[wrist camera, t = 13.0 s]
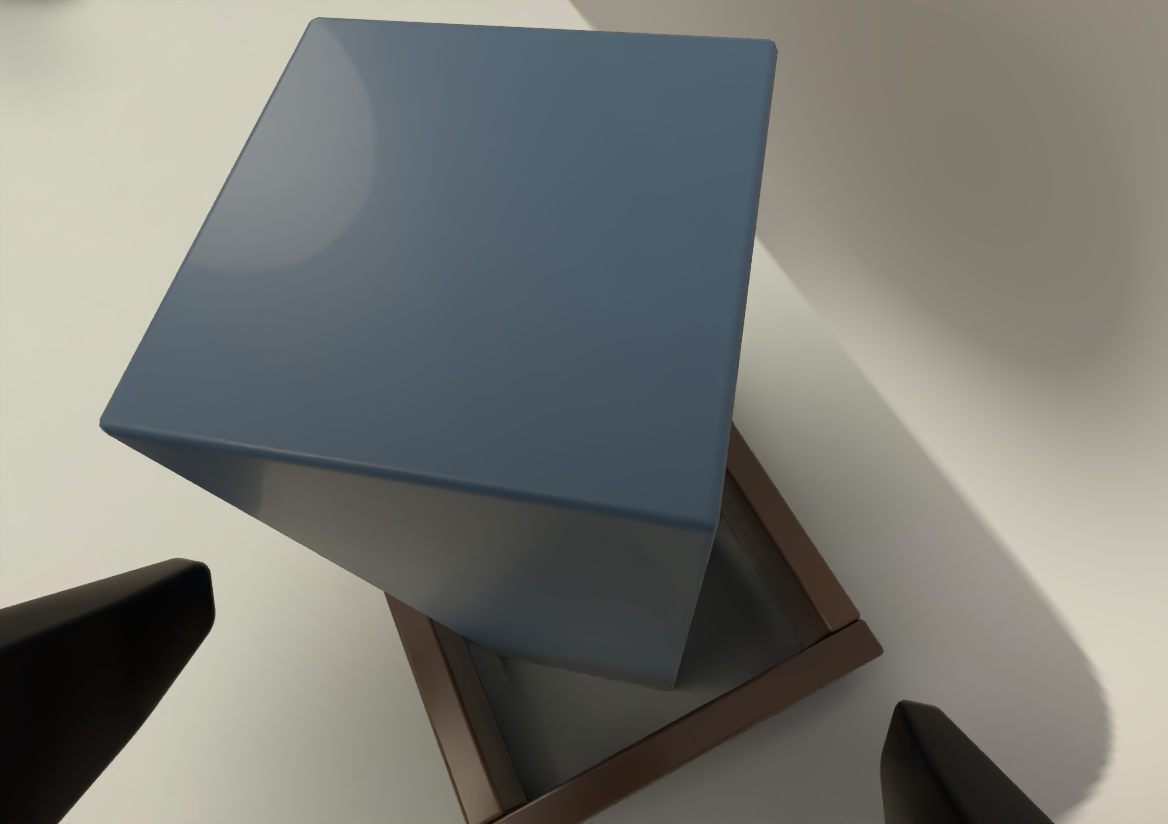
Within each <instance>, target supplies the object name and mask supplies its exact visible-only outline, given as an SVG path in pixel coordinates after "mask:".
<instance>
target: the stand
mask: <svg viewBox="0 0 1168 824" xmlns="http://www.w3.org/2000/svg"><path fill="white" fill-rule="evenodd" d="M720 511H721V512H722V514H723V516H724V517H725V519H726V521H727V522H728V524H729V526H730V527H731V529H732V530H733V532H734V534H735V535H736V537H737V539H738V540H739V542H740V543H741V545H742V547H743V548H744V550H745V552H746V553H747V555H748V557H749V558H750V560H751V561H752V563H753V565H754V566H755V568H756V570H757V571H758V573H759V574H760V576H761V578H762V579H763V581H764V583H765V584H766V586H767V588H768V589H769V591H770V592H771V594H772V596H773V597H774V599H775V601H776V602H777V604H778V605H779V607H780V609H781V610H782V612H783V614H784V615H785V617H786V619H787V620H788V622H789V623H790V625H791V627H792V628H793V630H794V632H795V633H796V635H797V636H798V638H799V640H800V641H801V643H802V645H803V646H804V647H805V648H806V649H804V650H802V651H800V652H799V653H797V654H795V655H793V656H791V657H790V658H788V659H786V660H784V661H782V662H781V663H779V664H777V665H775V666H773V667H771V668H770V669H768V670H766V671H764V672H762V673H761V674H759V675H757V676H755V677H753V678H752V679H750V680H748V681H746V682H744V683H743V684H741V685H739V686H737V687H735V688H733V689H732V690H730V691H728V692H726V693H724V694H723V695H721V696H719V697H717V698H715V699H714V700H712V701H710V702H708V703H706V704H704V705H703V706H701V707H699V708H697V709H695V710H694V711H692V712H690V713H688V714H686V715H685V716H683V717H681V718H679V719H677V720H675V721H674V722H672V723H670V724H668V725H666V726H665V727H663V728H661V729H659V730H657V731H656V732H654V733H652V734H650V735H648V736H646V737H645V738H643V739H641V740H639V741H637V742H636V743H634V744H632V745H630V746H628V747H627V748H625V749H623V750H621V751H619V752H617V753H616V754H614V755H612V756H610V757H608V758H607V759H605V760H603V761H601V762H599V763H598V764H596V765H594V766H592V767H590V768H589V769H587V770H585V771H583V772H581V773H579V774H578V775H576V776H574V777H572V778H570V779H569V780H567V781H565V782H563V783H561V784H560V785H558V786H556V787H554V788H552V789H550V790H549V791H547V792H545V793H543V794H541V795H540V796H538V797H536V798H534V799H532V800H531V801H529V802H527V799H526V797H525V794H524V792H523V789H522V787H521V784H520V782H519V779H518V776H517V774H516V771H515V769H514V766H513V764H512V761H511V759H510V756H509V754H508V751H507V749H506V746H505V744H504V741H503V739H502V736H501V733H500V731H499V728H498V726H497V723H496V721H495V718H494V716H493V713H492V711H491V708H490V706H489V703H488V701H487V698H486V696H485V693H484V690H483V688H482V685H481V683H480V680H479V678H478V675H477V673H476V670H475V668H474V665H473V663H472V660H471V658H470V655H469V653H468V650H467V647H466V645H465V642H464V640H463V637H462V635H460V634H458V633H457V632H455V631H453V630H451V629H450V628H448V627H446V626H444V625H442V624H441V623H439V622H437V621H435V620H434V619H432V618H430V617H428V616H427V615H425V614H423V613H421V612H420V611H418V610H416V609H414V608H413V607H411V606H409V605H407V604H405V603H404V602H402V601H400V600H398V599H397V598H395V597H393V596H391V595H390V594H388V593H386V592H384V594H385V597H386V600H387V602H388V605H389V608H390V611H391V614H392V616H393V619H394V622H395V625H396V628H397V631H398V633H399V636H400V639H401V642H402V645H403V647H404V650H405V653H406V656H407V659H408V662H409V664H410V667H411V670H412V673H413V676H414V678H415V681H416V684H417V687H418V690H419V693H420V695H421V698H422V701H423V704H424V707H425V709H426V712H427V715H428V718H429V721H430V724H431V726H432V729H433V732H434V735H435V738H436V740H437V743H438V746H439V749H440V752H441V755H442V757H443V760H444V763H445V766H446V769H447V771H448V774H449V777H450V780H451V783H452V786H453V788H454V791H455V794H456V797H457V800H458V802H459V805H460V808H461V811H462V814H463V817H464V819H465V822H466V824H581V823H583V822H585V821H587V820H588V819H590V818H592V817H594V816H596V815H597V814H599V813H601V812H603V811H604V810H606V809H608V808H610V807H612V806H613V805H615V804H617V803H619V802H621V801H622V800H624V799H626V798H628V797H629V796H631V795H633V794H635V793H637V792H638V791H640V790H642V789H644V788H645V787H647V786H649V785H651V784H653V783H654V782H656V781H658V780H660V779H661V778H663V777H665V776H667V775H669V774H670V773H672V772H674V771H676V770H678V769H679V768H681V767H683V766H685V765H686V764H688V763H690V762H692V761H694V760H695V759H697V758H699V757H701V756H702V755H704V754H706V753H708V752H710V751H711V750H713V749H715V748H717V747H719V746H720V745H722V744H724V743H726V742H727V741H729V740H731V739H733V738H735V737H736V736H738V735H740V734H742V733H743V732H745V731H747V730H749V729H751V728H752V727H754V726H756V725H758V724H759V723H761V722H763V721H765V720H767V719H768V718H770V717H772V716H774V715H776V714H777V713H779V712H781V711H783V710H784V709H786V708H788V707H790V706H792V705H793V704H795V703H797V702H799V701H800V700H802V699H804V698H806V697H808V696H809V695H811V694H813V693H815V692H817V691H818V690H820V689H822V688H824V687H825V686H827V685H829V684H831V683H833V682H834V681H836V680H838V679H840V678H841V677H843V676H845V675H847V674H849V673H850V672H852V671H854V670H856V669H857V668H859V667H861V666H863V665H865V664H866V663H868V662H870V661H872V660H874V659H875V658H877V657H879V656H881V655H882V654H883V652H884V651H883V648H882V646H881V645H880V643H879V642H878V640H877V639H876V637H875V636H874V634H873V633H872V631H871V630H870V628H869V627H868V625H867V624H866V622H865V621H864V620H862V619H859V618H860V613H859V612H858V610H857V609H856V607H855V606H854V604H853V603H852V601H851V600H850V598H849V597H848V595H847V594H846V592H845V591H844V589H843V588H842V586H841V585H840V583H839V582H838V580H837V578H836V577H835V575H834V574H833V572H832V571H831V569H830V568H829V566H828V565H827V563H826V562H825V560H824V559H823V557H822V556H821V554H820V553H819V551H818V550H817V548H816V547H815V545H814V544H813V542H812V541H811V539H810V538H809V536H808V535H807V533H806V532H805V530H804V529H803V527H802V526H801V524H800V523H799V521H798V520H797V518H796V517H795V515H794V514H793V512H792V511H791V509H790V508H789V506H788V505H787V503H786V502H785V500H784V499H783V497H782V496H781V494H780V493H779V491H778V490H777V488H776V486H775V485H774V483H773V482H772V480H771V479H770V477H769V476H768V474H767V473H766V471H765V470H764V468H763V467H762V465H761V464H760V462H759V461H758V459H757V458H756V456H755V455H754V453H753V452H752V450H751V449H750V447H749V446H748V444H747V443H746V441H745V440H744V438H743V437H742V435H741V434H740V432H739V431H738V429H737V428H736V426H735V425H734V423H733V422H731V430H730V438H729V446H728V454H727V462H726V470H725V478H724V486H723V494H722V502H721V510H720ZM858 619H859V620H858Z"/></svg>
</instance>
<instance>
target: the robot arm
mask: <svg viewBox="0 0 1168 824" xmlns="http://www.w3.org/2000/svg"><path fill="white" fill-rule="evenodd" d="M215 614H216V613H215V603H214V595H213V587H212V579H211V572H210V569H209V568H208V566H207V565H206V564H204V563H203V562H199V561H194V560H189V559H184V558H174V559H170V560H167V561H163V562H160V563H156V564H153V565H150V566H146V567H143V568H139V569H136V570H133V571H129V572H126V573H122V574H119V575H116V576H112V577H109V578H105V579H102V580H98V581H95V582H92V583H88V584H85V585H81V586H78V587H75V588H71V589H68V590H64V591H61V592H58V593H54V594H51V595H47V596H44V597H41V598H37V599H34V600H30V601H27V602H24V603H20V604H17V605H13V606H10V607H6V608H3V609H0V824H58V823H59V822H60V821H61V820H62V819H63V818H64V816H65V815H66V814H67V813H68V812H69V811H70V809H71V808H72V807H73V806H74V805H75V804H76V803H77V801H78V800H79V799H80V798H81V797H82V796H83V794H84V793H85V792H86V791H87V790H88V789H89V787H90V786H91V785H92V784H93V783H94V782H95V780H96V779H97V778H98V777H99V776H100V775H101V774H102V772H103V771H104V770H105V769H106V768H107V767H108V765H109V764H110V763H111V762H112V761H113V760H114V758H115V757H116V756H117V755H118V754H119V753H120V751H121V750H122V749H123V748H124V747H125V746H126V745H127V743H128V742H129V741H130V740H131V738H132V737H133V736H134V735H135V734H136V732H137V731H138V730H139V729H140V727H141V726H142V725H143V723H144V722H145V721H146V719H147V718H148V717H149V716H150V714H151V713H152V712H153V710H154V709H155V707H156V706H157V705H158V703H159V702H160V700H161V699H162V698H163V696H164V695H165V694H166V692H167V691H168V689H169V688H170V687H171V685H172V684H173V682H174V681H175V680H176V678H177V677H178V675H179V674H180V673H181V671H182V670H183V669H184V667H185V666H186V664H187V663H188V662H189V660H190V659H191V657H192V656H193V655H194V653H195V652H196V651H197V649H198V648H199V646H200V645H201V644H202V642H203V641H204V639H205V638H206V637H207V635H208V634H209V632H210V631H211V629H212V626H213V624H214V621H215ZM880 776H881V787H882V796H883V806H884V816H885V824H1054V823H1053V822H1052V821H1051V820H1050V819H1049V818H1048V817H1047V816H1046V815H1045V814H1044V813H1043V812H1042V811H1041V810H1040V809H1039V808H1038V807H1037V806H1036V805H1035V804H1034V803H1033V802H1032V801H1031V800H1030V799H1029V798H1028V797H1027V796H1026V795H1025V794H1024V793H1023V792H1022V791H1021V790H1020V789H1019V788H1018V787H1017V786H1016V785H1015V784H1014V783H1013V782H1012V781H1011V780H1010V779H1009V778H1008V777H1007V776H1006V775H1005V774H1004V773H1003V772H1002V771H1001V770H1000V769H999V768H998V767H997V766H996V765H995V764H994V763H993V762H992V761H991V760H990V759H989V758H988V757H987V756H986V755H985V754H984V753H983V752H982V751H981V750H980V749H979V748H978V747H977V746H976V745H975V744H974V743H973V742H972V741H971V740H970V739H969V738H968V737H967V736H966V735H965V734H964V733H963V732H962V731H961V730H960V729H959V728H958V727H957V726H956V725H955V724H954V723H953V722H952V721H951V720H950V719H949V718H948V717H947V716H946V715H945V714H944V713H943V712H942V711H941V710H940V709H939V708H937V707H936V706H933V705H929V704H923V703H918V702H913V701H908V700H902V701H900V702H898V703H897V705H896V707H895V709H894V712H893V715H892V719H891V722H890V726H889V729H888V733H887V736H886V740H885V743H884V747H883V751H882V755H881V763H880Z"/></svg>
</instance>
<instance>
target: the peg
mask: <svg viewBox="0 0 1168 824" xmlns="http://www.w3.org/2000/svg"><path fill="white" fill-rule="evenodd" d="M777 53H778V51H777V48H776V45H775V42H773V41H771V40H769V39H748V38H728V37H708V36H687V35H667V34H647V33H626V32H605V31H586V30H566V29H545V28H525V27H505V26H484V25H464V24H444V23H423V22H403V21H383V20H362V19H342V18H322V17H318V18H315V19H313V20H311V21H310V22H309V24H308V26H307V28H306V30H305V32H304V34H303V36H302V38H301V39H300V41H299V43H298V45H297V47H296V49H295V51H294V53H293V55H292V56H291V58H290V60H289V62H288V64H287V66H286V68H285V70H284V72H283V73H282V75H281V77H280V79H279V81H278V83H277V85H276V87H275V89H274V90H273V92H272V94H271V96H270V98H269V100H268V102H267V104H266V106H265V108H264V109H263V111H262V113H261V115H260V117H259V119H258V121H257V123H256V125H255V126H254V128H253V130H252V132H251V134H250V136H249V138H248V140H247V142H246V143H245V145H244V147H243V149H242V151H241V153H240V155H239V157H238V159H237V160H236V162H235V164H234V166H233V168H232V170H231V172H230V174H229V176H228V178H227V179H226V181H225V183H224V185H223V187H222V189H221V191H220V193H219V195H218V196H217V198H216V200H215V202H214V204H213V206H212V208H211V210H210V212H209V213H208V215H207V217H206V219H205V221H204V223H203V225H202V227H201V229H200V231H199V232H198V234H197V236H196V238H195V240H194V242H193V244H192V246H191V248H190V249H189V251H188V253H187V255H186V257H185V259H184V261H183V263H182V265H181V266H180V268H179V270H178V272H177V274H176V276H175V278H174V280H173V282H172V283H171V285H170V287H169V289H168V291H167V293H166V295H165V297H164V299H163V301H162V302H161V304H160V306H159V308H158V310H157V312H156V314H155V316H154V318H153V319H152V321H151V323H150V325H149V327H148V329H147V331H146V333H145V335H144V336H143V338H142V340H141V342H140V344H139V346H138V348H137V350H136V352H135V353H134V355H133V357H132V359H131V361H130V363H129V365H128V367H127V369H126V371H125V372H124V374H123V376H122V378H121V380H120V382H119V384H118V386H117V388H116V389H115V391H114V393H113V395H112V397H111V399H110V401H109V403H108V405H107V406H106V408H105V410H104V412H103V414H102V416H101V418H100V424H99V426H100V427H101V429H102V430H103V431H104V432H105V433H107V434H108V435H110V436H111V437H113V438H115V439H117V440H118V441H120V442H122V443H124V444H126V445H127V446H129V447H131V448H133V449H134V450H136V451H138V452H140V453H141V454H143V455H145V456H147V457H148V458H150V459H152V460H154V461H155V462H157V463H159V464H161V465H163V466H164V467H166V468H168V469H170V470H171V471H173V472H175V473H177V474H178V475H180V476H182V477H184V478H185V479H187V480H189V481H191V482H192V483H194V484H196V485H198V486H199V487H201V488H203V489H205V490H207V491H208V492H210V493H212V494H214V495H215V496H217V497H219V498H221V499H222V500H224V501H226V502H228V503H229V504H231V505H233V506H235V507H236V508H238V509H240V510H242V511H243V512H245V513H247V514H249V515H251V516H252V517H254V518H256V519H258V520H259V521H261V522H263V523H265V524H266V525H268V526H270V527H272V528H273V529H275V530H277V531H279V532H280V533H282V534H284V535H286V536H288V537H289V538H291V539H293V540H295V541H296V542H298V543H300V544H302V545H303V546H305V547H307V548H309V549H310V550H312V551H314V552H316V553H317V554H319V555H321V556H323V557H324V558H326V559H328V560H330V561H332V562H333V563H335V564H337V565H339V566H340V567H342V568H344V569H346V570H347V571H349V572H351V573H353V574H354V575H356V576H358V577H360V578H361V579H363V580H365V581H367V582H369V583H370V584H372V585H374V586H376V587H377V588H379V589H381V590H383V591H384V592H386V593H388V594H390V595H391V596H393V597H395V598H397V599H398V600H400V601H402V602H404V603H405V604H407V605H409V606H411V607H413V608H414V609H416V610H418V611H420V612H421V613H423V614H425V615H427V616H428V617H430V618H432V619H434V620H435V621H437V622H439V623H441V624H442V625H444V626H446V627H448V628H450V629H451V630H453V631H455V632H457V633H458V634H460V635H462V636H464V637H465V638H467V639H469V640H471V641H472V642H474V643H476V644H478V645H479V646H481V647H483V648H485V649H486V650H488V651H490V652H492V653H494V654H495V655H497V656H501V657H506V658H511V659H516V660H521V661H526V662H530V663H535V664H540V665H545V666H550V667H555V668H560V669H564V670H569V671H574V672H579V673H584V674H589V675H594V676H598V677H603V678H608V679H613V680H618V681H623V682H627V683H632V684H637V685H642V686H647V687H652V688H657V689H661V690H666V691H672V690H673V688H674V685H675V681H676V677H677V674H678V670H679V666H680V663H681V659H682V655H683V652H684V648H685V645H686V641H687V637H688V634H689V630H690V626H691V623H692V619H693V615H694V612H695V608H696V604H697V601H698V597H699V593H700V590H701V586H702V583H703V579H704V575H705V572H706V568H707V564H708V561H709V557H710V553H711V550H712V546H713V542H714V539H715V535H716V532H717V528H718V524H719V518H720V510H721V502H722V494H723V486H724V478H725V470H726V462H727V454H728V446H729V438H730V430H731V422H732V414H733V406H734V398H735V390H736V382H737V374H738V366H739V358H740V350H741V342H742V334H743V326H744V318H745V310H746V302H747V294H748V286H749V278H750V270H751V262H752V254H753V246H754V238H755V230H756V221H757V213H758V205H759V197H760V189H761V181H762V173H763V165H764V157H765V149H766V141H767V133H768V125H769V117H770V109H771V100H772V93H773V85H774V77H775V69H776V61H777Z"/></svg>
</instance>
